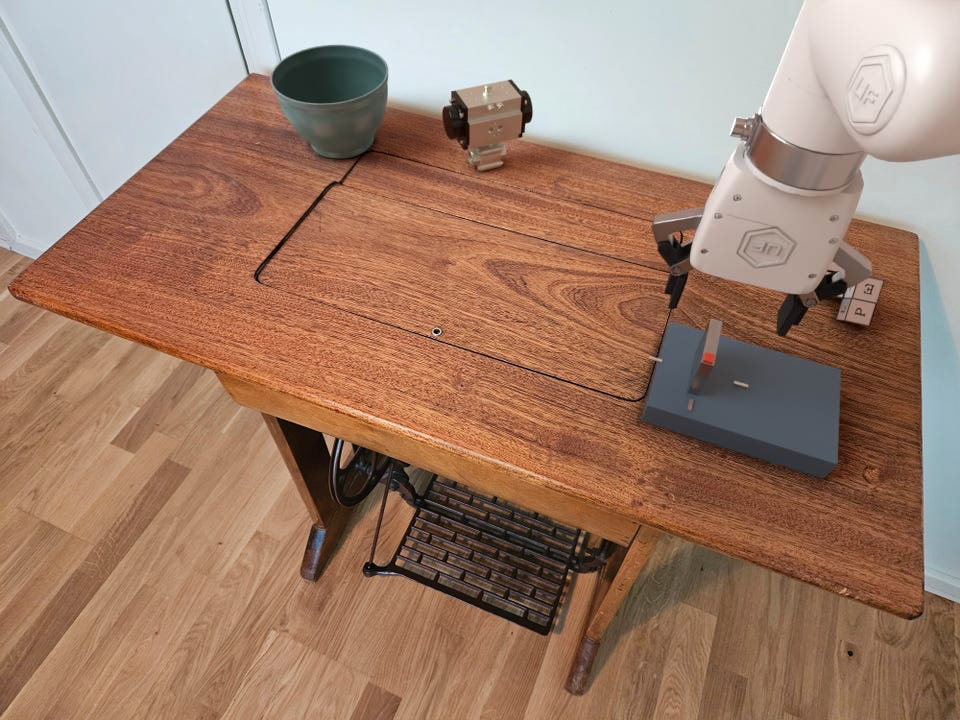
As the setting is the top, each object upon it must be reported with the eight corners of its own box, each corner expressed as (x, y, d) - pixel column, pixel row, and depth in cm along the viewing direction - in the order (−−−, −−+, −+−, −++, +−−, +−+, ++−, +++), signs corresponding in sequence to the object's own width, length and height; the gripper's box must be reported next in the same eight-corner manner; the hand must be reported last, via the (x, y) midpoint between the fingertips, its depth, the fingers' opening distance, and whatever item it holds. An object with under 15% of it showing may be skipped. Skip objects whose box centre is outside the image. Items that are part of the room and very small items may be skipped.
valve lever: (696, 349, 66) (711, 316, 62) (707, 352, 66) (723, 319, 62) (686, 392, 63) (702, 360, 58) (698, 395, 62) (714, 364, 58)
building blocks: (851, 324, 75) (872, 259, 74) (869, 326, 70) (892, 256, 69) (805, 314, 76) (825, 249, 75) (820, 315, 71) (841, 246, 70)
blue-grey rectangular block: (828, 385, 67) (842, 368, 65) (823, 479, 60) (838, 463, 58) (653, 335, 71) (660, 317, 69) (630, 417, 64) (636, 400, 62)
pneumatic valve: (443, 163, 91) (440, 84, 82) (516, 147, 94) (521, 69, 84) (456, 185, 88) (455, 106, 78) (531, 167, 91) (538, 89, 81)
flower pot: (327, 188, 87) (312, 117, 79) (267, 139, 94) (247, 69, 86) (417, 144, 94) (411, 75, 85) (355, 102, 101) (344, 33, 93)
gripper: (674, 151, 43) (625, 316, 56) (946, 205, 39) (825, 367, 53) (688, 97, 47) (639, 263, 61) (934, 142, 44) (825, 306, 57)
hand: (726, 311), depth 57 cm, fingers open, 9 cm apart
